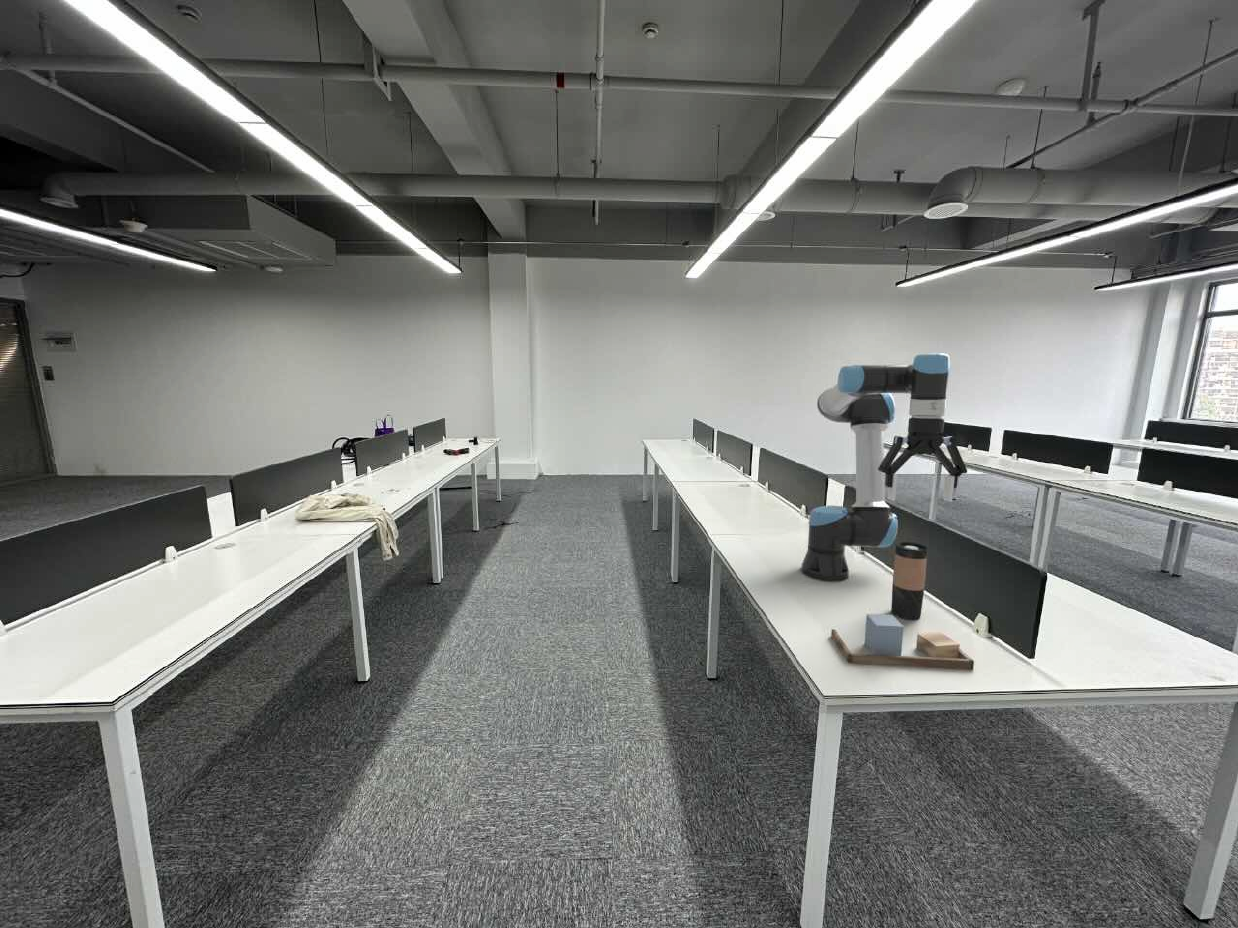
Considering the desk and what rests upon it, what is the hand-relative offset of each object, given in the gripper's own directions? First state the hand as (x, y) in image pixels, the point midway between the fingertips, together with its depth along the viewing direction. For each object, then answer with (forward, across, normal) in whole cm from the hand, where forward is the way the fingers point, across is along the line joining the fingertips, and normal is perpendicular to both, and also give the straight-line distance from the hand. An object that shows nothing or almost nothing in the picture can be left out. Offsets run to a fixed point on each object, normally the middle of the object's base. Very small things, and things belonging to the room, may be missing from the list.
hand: (919, 500), depth 124 cm
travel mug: (+35, +3, +8) cm, 36 cm away
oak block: (+35, 0, -13) cm, 37 cm away
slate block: (+35, -12, -13) cm, 39 cm away
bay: (+35, -8, -13) cm, 38 cm away
